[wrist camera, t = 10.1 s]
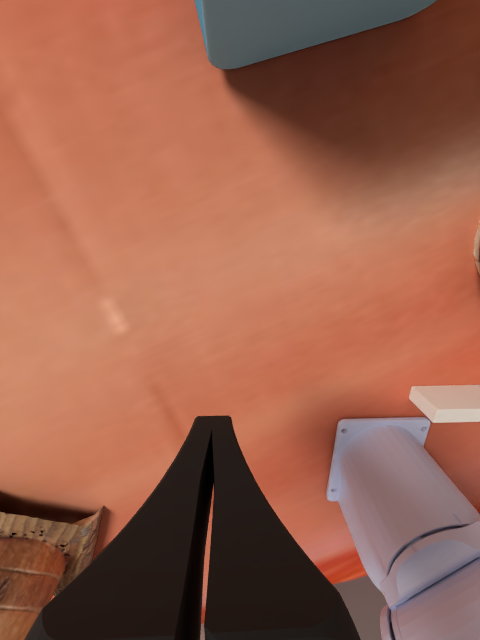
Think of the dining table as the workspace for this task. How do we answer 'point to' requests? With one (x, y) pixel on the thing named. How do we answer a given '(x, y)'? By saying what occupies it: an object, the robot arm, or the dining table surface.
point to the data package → (288, 25)
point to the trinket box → (477, 249)
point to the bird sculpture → (39, 565)
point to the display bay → (448, 402)
